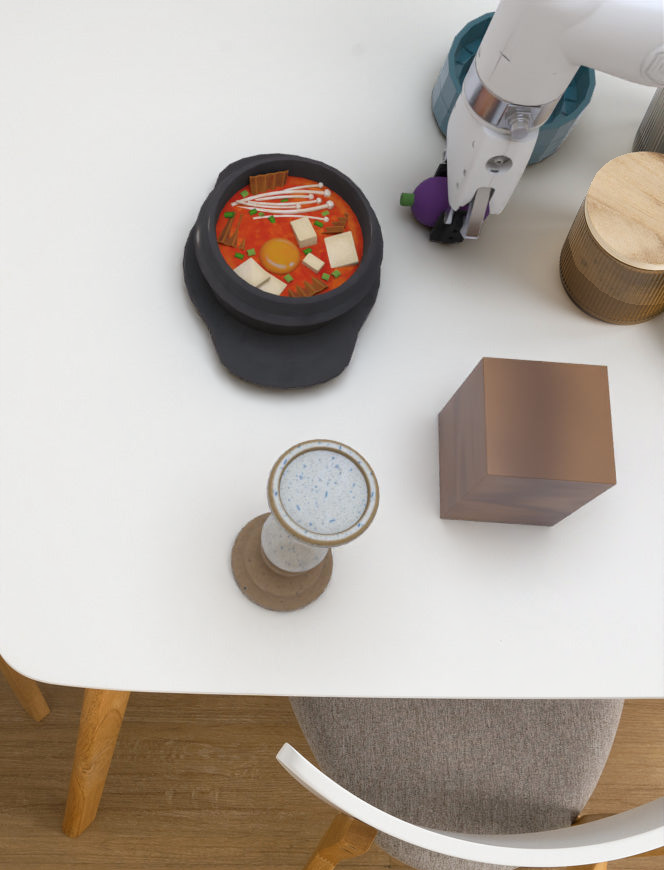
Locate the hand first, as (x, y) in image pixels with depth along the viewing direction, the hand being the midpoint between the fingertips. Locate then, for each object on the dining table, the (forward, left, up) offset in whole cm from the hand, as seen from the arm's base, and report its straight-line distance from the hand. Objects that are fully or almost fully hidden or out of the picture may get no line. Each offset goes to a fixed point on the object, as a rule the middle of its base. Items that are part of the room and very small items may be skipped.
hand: (445, 214), depth 94 cm
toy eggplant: (0, 0, 0) cm, 0 cm away
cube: (-4, +26, 0) cm, 26 cm away
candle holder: (+15, +36, -1) cm, 39 cm away
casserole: (+16, +8, -1) cm, 18 cm away
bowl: (-6, -13, 0) cm, 14 cm away
